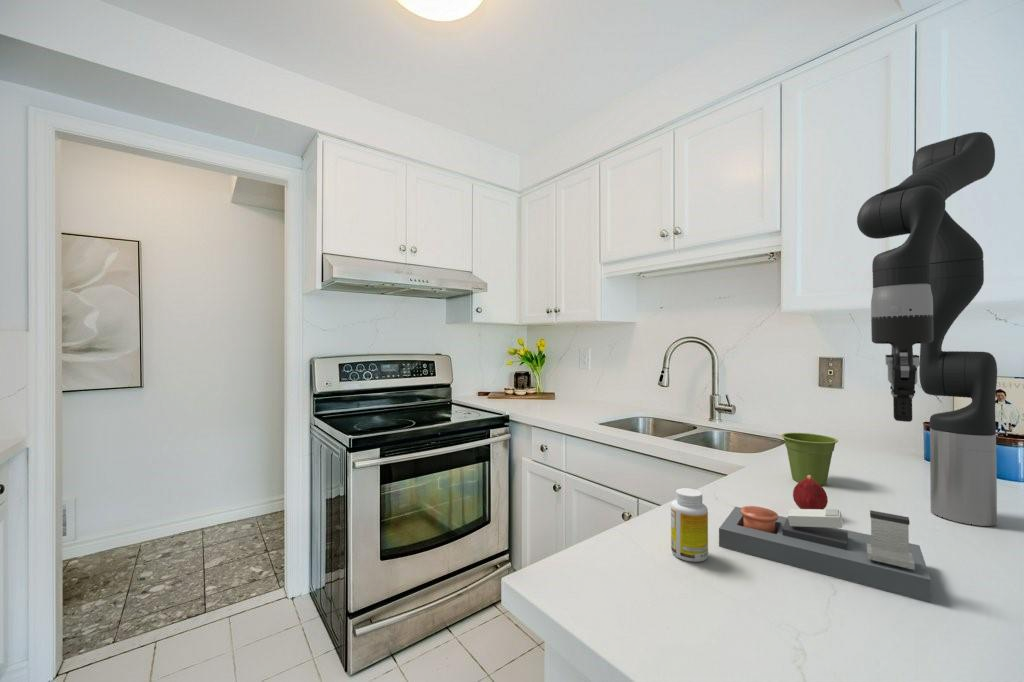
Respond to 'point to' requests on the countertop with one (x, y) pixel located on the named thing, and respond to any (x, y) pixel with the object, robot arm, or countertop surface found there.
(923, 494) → the countertop surface
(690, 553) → the supplement bottle
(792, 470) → the plant pot
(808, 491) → the onion
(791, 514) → the rocker switch
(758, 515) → the push button
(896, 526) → the slide paddle
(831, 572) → the control panel
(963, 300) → the robot arm
